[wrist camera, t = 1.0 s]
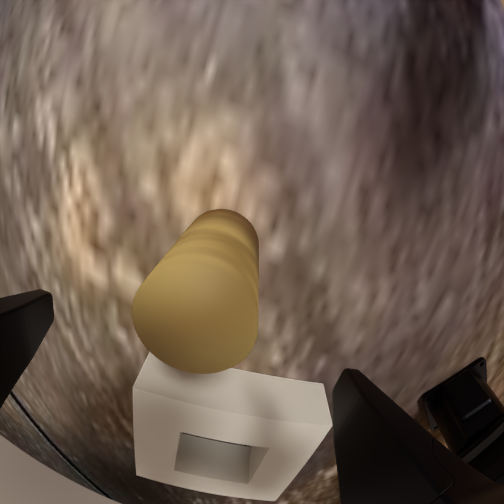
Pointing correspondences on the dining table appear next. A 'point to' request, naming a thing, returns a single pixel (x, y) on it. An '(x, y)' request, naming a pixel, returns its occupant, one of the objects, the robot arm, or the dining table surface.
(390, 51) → the dining table surface
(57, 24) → the dining table surface
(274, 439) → the socket block
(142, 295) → the peg
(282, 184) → the dining table surface
